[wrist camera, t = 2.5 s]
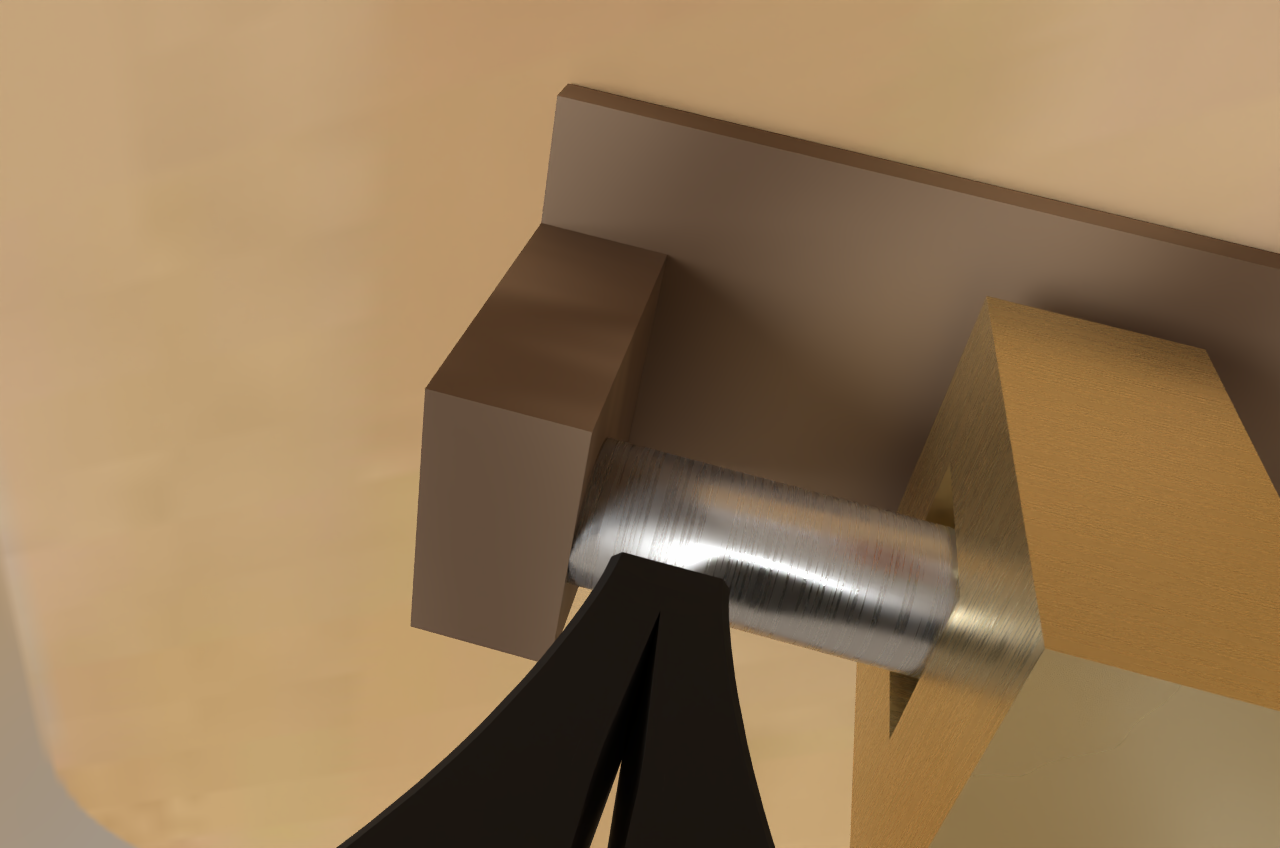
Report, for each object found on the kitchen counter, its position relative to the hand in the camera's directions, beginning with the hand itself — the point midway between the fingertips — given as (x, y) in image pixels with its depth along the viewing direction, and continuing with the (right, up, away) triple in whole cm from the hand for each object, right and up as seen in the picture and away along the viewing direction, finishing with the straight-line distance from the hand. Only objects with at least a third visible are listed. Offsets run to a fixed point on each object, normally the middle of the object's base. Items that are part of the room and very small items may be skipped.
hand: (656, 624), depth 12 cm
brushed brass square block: (+6, +1, +4) cm, 7 cm away
